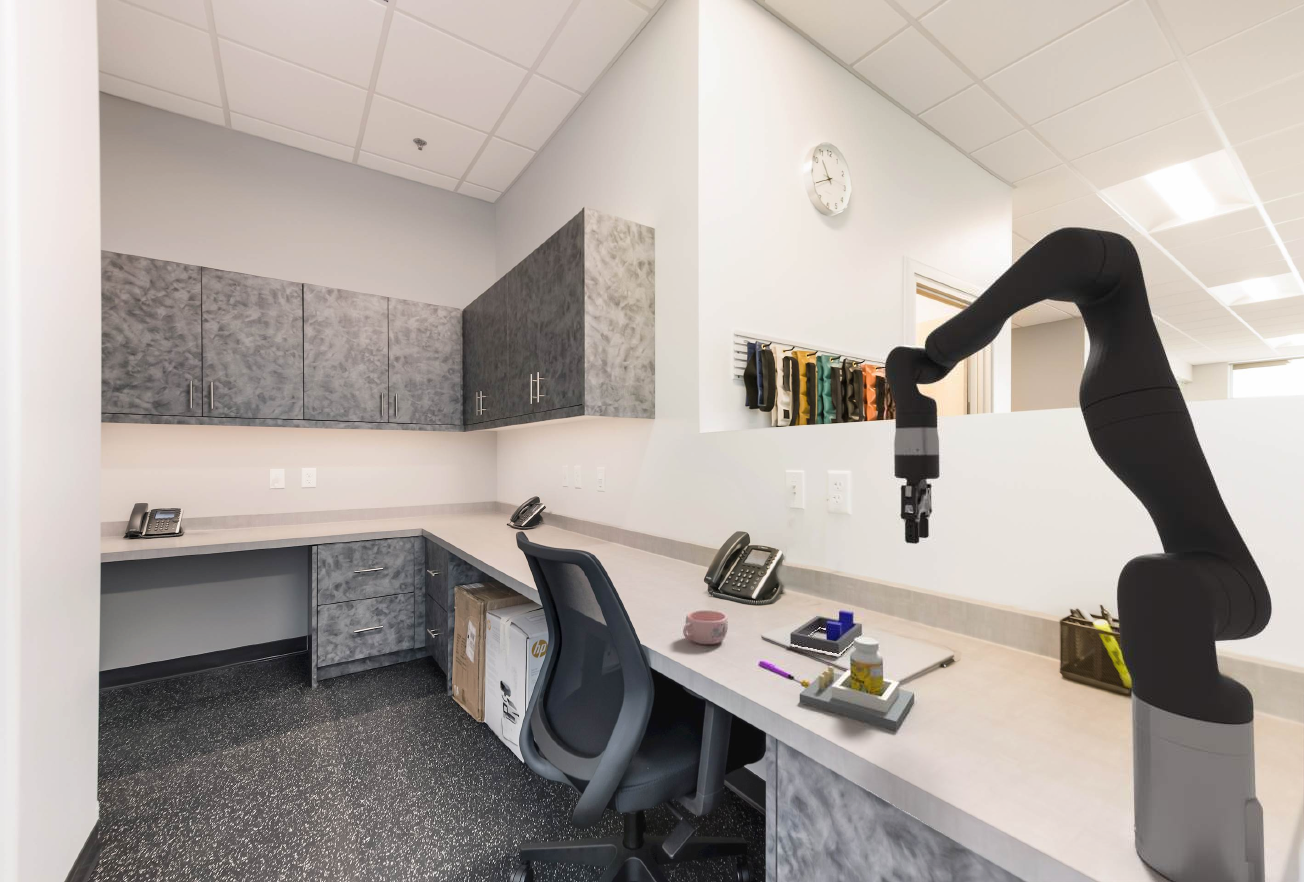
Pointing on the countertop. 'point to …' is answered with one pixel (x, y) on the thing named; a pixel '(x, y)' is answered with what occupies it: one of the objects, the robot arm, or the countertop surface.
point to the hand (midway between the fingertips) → (917, 540)
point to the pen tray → (804, 640)
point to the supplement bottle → (866, 666)
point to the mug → (706, 626)
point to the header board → (858, 699)
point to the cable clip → (839, 626)
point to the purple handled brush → (781, 672)
